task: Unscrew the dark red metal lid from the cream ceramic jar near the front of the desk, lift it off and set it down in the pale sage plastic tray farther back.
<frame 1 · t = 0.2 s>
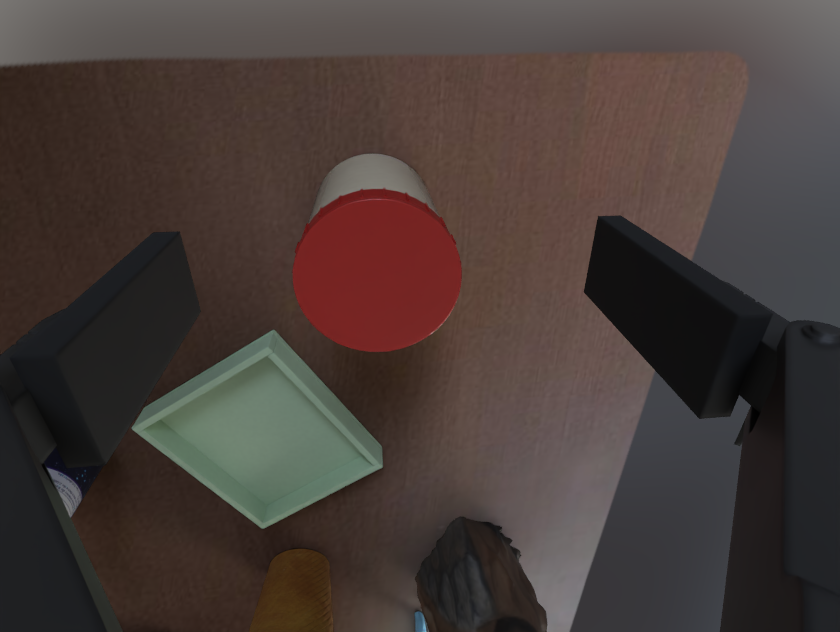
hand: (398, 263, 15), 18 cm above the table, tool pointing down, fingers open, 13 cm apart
owl: (464, 553, 53), on the table
jar: (374, 213, 32), on the table
disposable coffee cup: (300, 564, 51), on the table
beverage can: (74, 443, 40), on the table
jar lid: (378, 278, 23), point 11 cm above the table, screwed on, not yet turned
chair: (439, 621, 59), on the table
tray: (270, 428, 41), on the table
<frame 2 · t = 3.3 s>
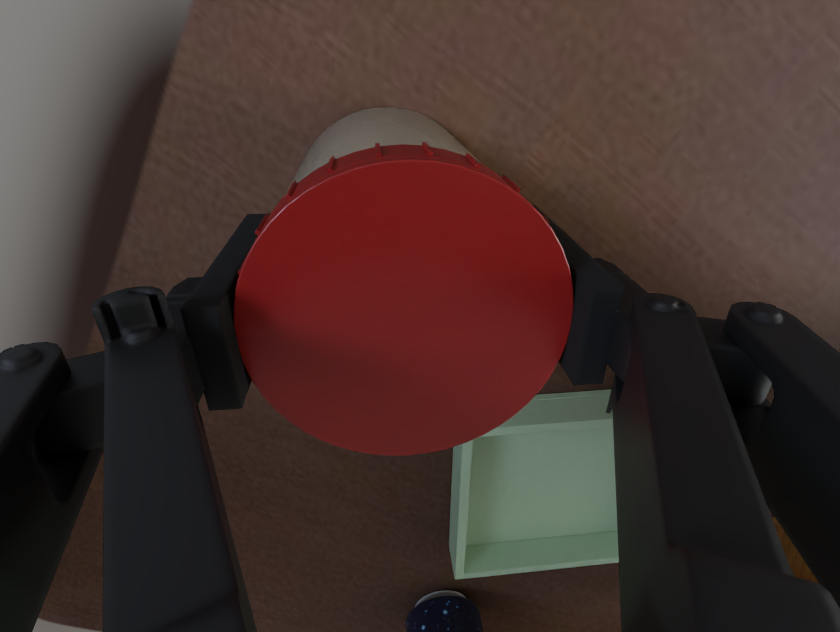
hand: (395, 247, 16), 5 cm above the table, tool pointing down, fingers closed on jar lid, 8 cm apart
jar: (388, 204, 21), on the table
disposable coffee cup: (753, 540, 37), on the table
beverage can: (440, 603, 37), on the table
jar lid: (408, 325, 12), point 11 cm above the table, screwed on, not yet turned, touching gripper
tray: (566, 470, 31), on the table
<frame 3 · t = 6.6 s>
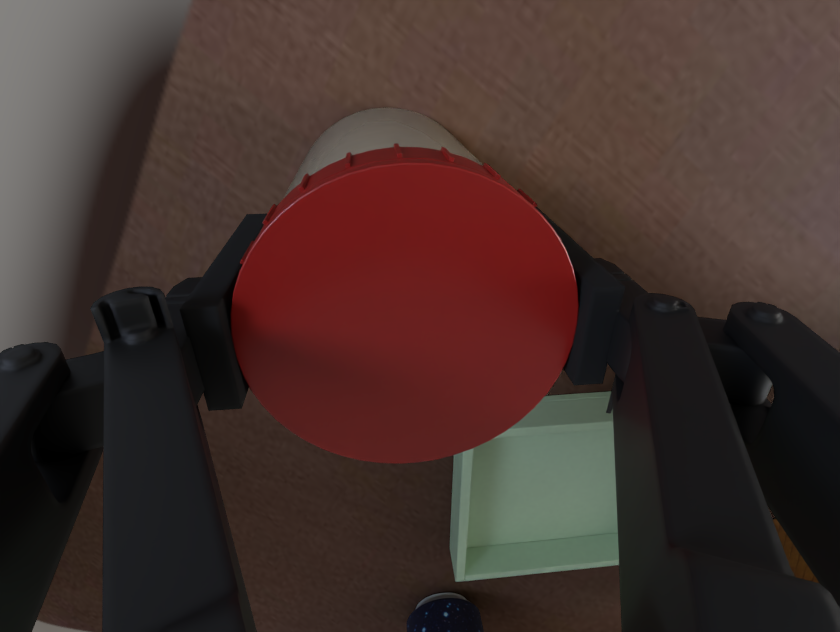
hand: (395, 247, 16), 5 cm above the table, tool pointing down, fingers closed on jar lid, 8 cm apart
jar: (388, 205, 21), on the table
disposable coffee cup: (755, 542, 37), on the table
beverage can: (441, 605, 37), on the table
jar lid: (409, 331, 12), point 11 cm above the table, turned 99° so far, risen 0.1 cm, still on its thread, touching gripper
tray: (567, 472, 31), on the table
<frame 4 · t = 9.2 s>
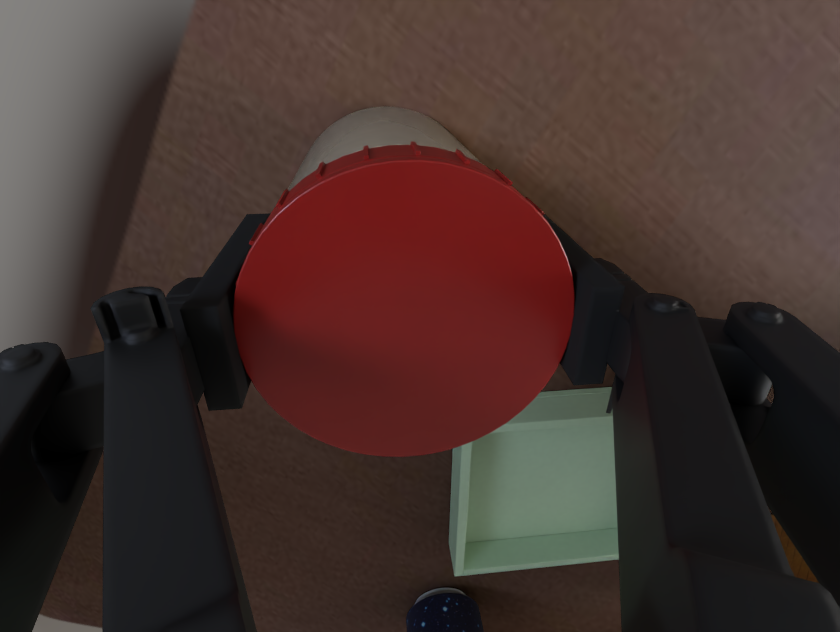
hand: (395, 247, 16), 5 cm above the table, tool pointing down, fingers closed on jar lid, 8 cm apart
jar: (388, 203, 21), on the table
disposable coffee cup: (751, 537, 38), on the table
beverage can: (440, 600, 37), on the table
jar lid: (408, 326, 12), point 11 cm above the table, turned 199° so far, risen 0.3 cm, still on its thread, touching gripper
tray: (565, 468, 31), on the table
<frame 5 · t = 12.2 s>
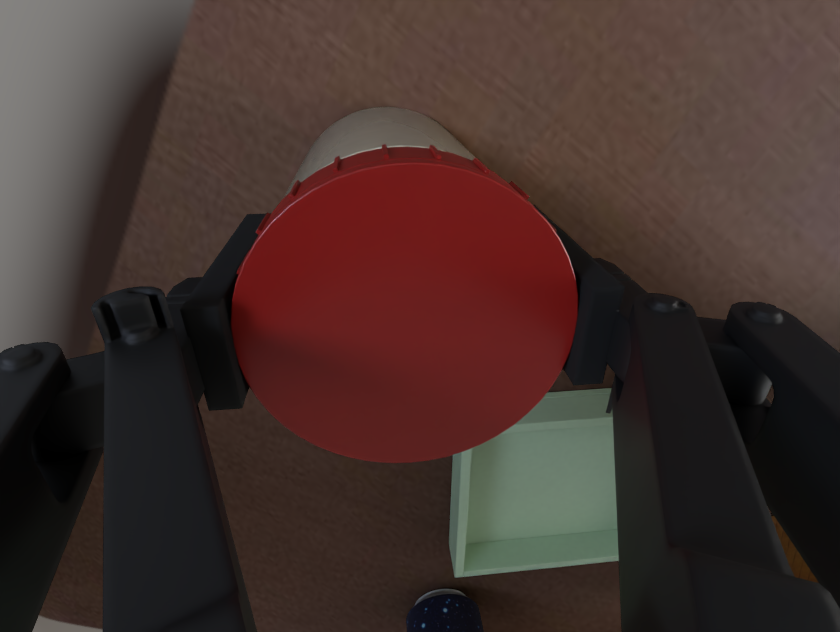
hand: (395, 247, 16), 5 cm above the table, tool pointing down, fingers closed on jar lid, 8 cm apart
jar: (388, 203, 21), on the table
disposable coffee cup: (752, 539, 38), on the table
beverage can: (440, 601, 37), on the table
jar lid: (409, 331, 12), point 11 cm above the table, turned 298° so far, risen 0.4 cm, still on its thread, touching gripper
tray: (565, 469, 31), on the table
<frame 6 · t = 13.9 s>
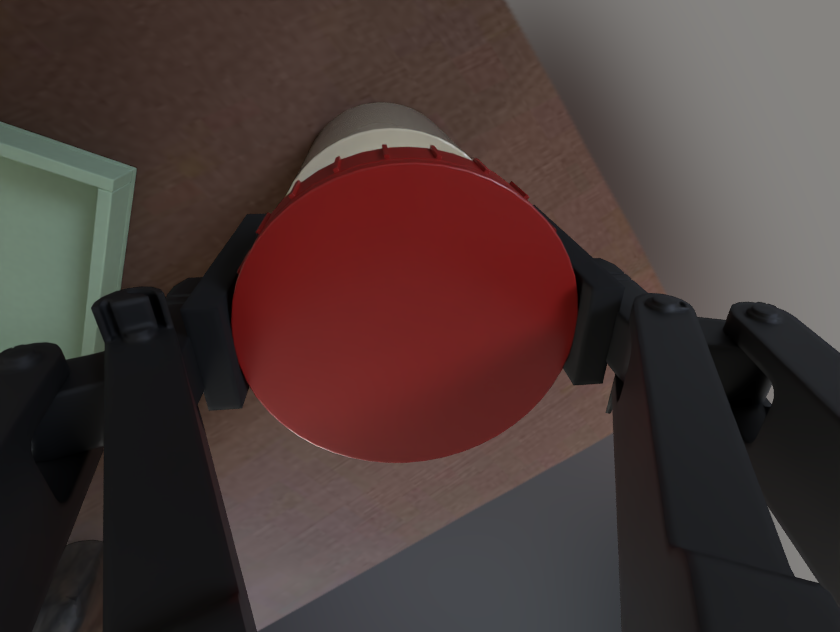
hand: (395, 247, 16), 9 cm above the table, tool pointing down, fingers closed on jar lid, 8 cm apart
owl: (58, 583, 37), on the table
jar: (383, 186, 24), on the table
jar lid: (409, 330, 12), point 15 cm above the table, off its thread, touching gripper
when the fingers open (2 cm above the table, at t = 21.4 s): jar lid drops 6 cm, resting on tray.
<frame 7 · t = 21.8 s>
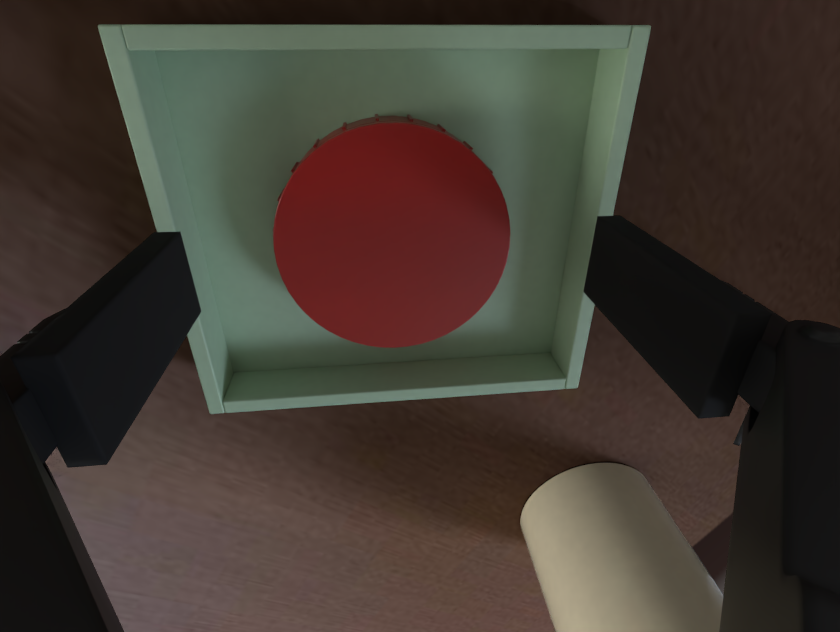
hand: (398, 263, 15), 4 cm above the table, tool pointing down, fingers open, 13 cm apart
jar: (585, 510, 28), on the table
jar lid: (394, 245, 17), point 2 cm above the table, off its thread, touching tray
tray: (391, 227, 18), on the table
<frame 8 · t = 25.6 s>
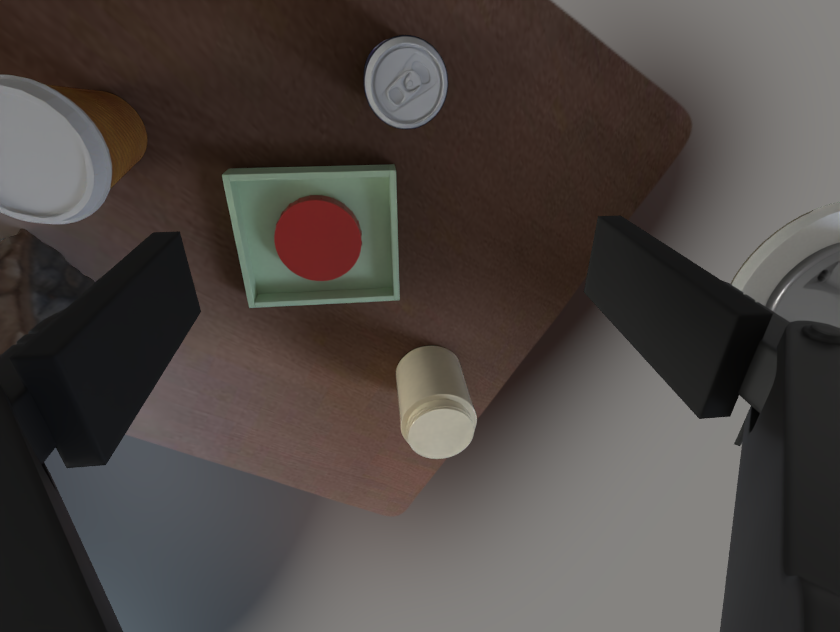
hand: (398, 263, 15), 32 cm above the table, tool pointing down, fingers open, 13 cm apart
owl: (53, 291, 47), on the table
jar: (428, 373, 57), on the table
disposable coffee cup: (109, 130, 41), on the table
beverage can: (396, 76, 41), on the table
jar lid: (318, 241, 45), point 2 cm above the table, off its thread, touching tray
tray: (320, 234, 47), on the table
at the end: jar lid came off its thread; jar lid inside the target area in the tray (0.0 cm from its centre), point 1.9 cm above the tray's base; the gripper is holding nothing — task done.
